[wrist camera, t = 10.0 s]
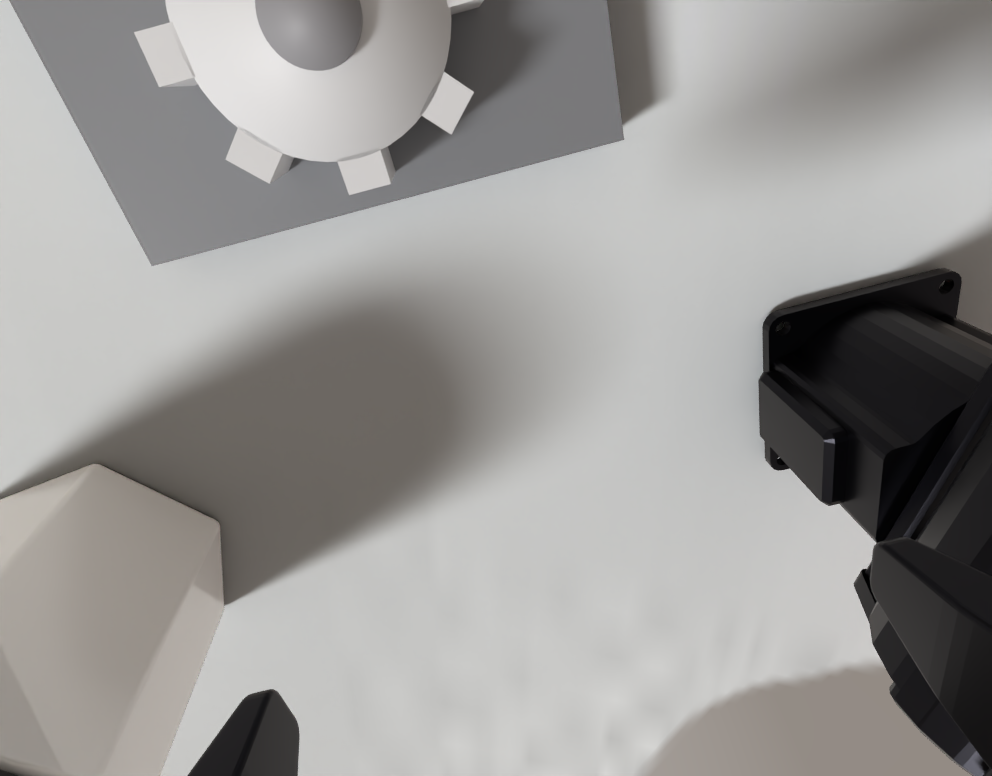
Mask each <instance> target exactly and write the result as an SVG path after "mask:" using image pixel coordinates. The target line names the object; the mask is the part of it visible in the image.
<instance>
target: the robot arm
mask: <svg viewBox="0 0 992 776" xmlns="http://www.w3.org/2000/svg"><path fill="white" fill-rule="evenodd" d="M943 281H945V282H944V284H943V286H942V287H941V288H939V287H940V284H941V283H942V282H943ZM960 289H961V277H960V275H959V274H958V273H956V272H953V271H950V270H948V269H945V268H943V269H936V270H932V271H929V272H925V273H921V274H917V275H913V276H909V277H905V278H902V279H898V280H894V281H890V282H886V283H882V284H878V285H874V286H871V287H867V288H863V289H859V290H855V291H851V292H847V293H844V294H840V295H836V296H832V297H828V298H824V299H820V300H817V301H813V302H809V303H805V304H801V305H797V306H793V307H789V308H786V309H782V310H778V311H775V312H773V313H771V314H770V315H769V316H768V317H767V318H766V319H765V321H764V323H763V373H762V375H761V377H760V379H759V419H760V436H761V437H762V438H763V439H764V441H765V459H766V461H767V462H768V463H769V464H770V466H771V467H772V468H773V469H775V470H785V469H789V468H790V469H791V470H792V471H793V472H794V473H795V474H796V475H797V476H798V478H799V479H800V480H801V481H802V482H803V483H804V484H805V485H806V486H807V487H808V488H809V490H810V491H811V492H812V493H813V494H814V495H815V496H816V497H817V498H818V499H819V500H820V501H821V502H823V503H825V504H826V505H828V506H831V505H835V504H840V505H841V506H842V507H843V508H844V509H845V510H846V511H847V512H848V513H849V514H850V515H851V516H852V517H853V519H854V520H855V521H856V522H857V523H858V524H859V525H860V526H861V527H862V528H863V529H864V530H865V531H866V532H867V533H868V534H869V535H870V536H871V537H872V538H873V539H874V540H875V542H876V543H877V544H876V545H875V546H874V548H873V556H872V561H871V563H870V565H869V566H868V568H867V569H863V570H862V571H861V572H860V574H859V576H858V577H857V579H856V581H855V582H854V587H855V589H856V592H857V594H858V597H859V599H860V601H861V604H862V606H863V609H864V611H865V613H866V616H867V618H868V621H869V623H870V629H871V636H872V643H873V645H874V647H875V649H876V651H877V653H878V655H879V657H880V658H881V660H882V662H883V664H884V666H885V668H886V670H887V671H888V673H889V675H890V677H891V678H892V680H893V681H894V682H893V684H892V685H891V686H890V694H891V696H892V697H893V699H894V701H895V702H896V704H897V705H898V707H899V708H900V709H901V710H902V711H903V712H904V714H906V716H907V717H908V718H909V719H910V720H911V721H912V722H913V724H914V725H915V726H916V727H917V728H918V730H920V732H921V733H922V734H923V735H924V736H925V737H927V738H928V739H929V740H930V741H931V742H932V743H933V744H934V745H935V746H936V747H938V748H939V749H940V750H941V751H942V752H943V753H944V754H946V756H947V757H948V758H949V759H951V760H952V761H954V763H956V764H957V765H959V766H960V767H961V768H962V769H964V770H965V771H966V772H968V773H969V774H971V775H972V776H992V334H989V333H987V332H985V331H983V330H981V329H978V328H976V327H974V326H972V325H970V324H968V323H965V322H963V321H961V320H959V319H957V318H956V315H957V308H958V302H959V295H960ZM781 322H784V326H783V327H782V328H781V329H780V330H778V331H776V327H777V326H778V325H779V323H781ZM778 457H780V458H779V459H777V458H778ZM298 756H299V727H298V723H297V720H296V718H295V717H294V715H293V714H292V712H291V711H290V709H289V708H288V706H287V705H286V703H285V702H284V700H283V699H282V697H281V696H280V694H279V693H278V692H277V691H275V690H273V689H269V690H265V691H261V692H257V693H253V694H250V695H248V696H247V697H245V698H244V699H243V700H242V702H241V703H240V704H239V706H238V707H237V708H236V710H235V711H234V712H233V714H232V715H231V717H230V718H229V719H228V721H227V722H226V723H225V725H224V726H223V728H222V729H221V730H220V732H219V733H218V734H217V736H216V737H215V739H214V740H213V741H212V743H211V744H210V745H209V747H208V748H207V750H206V751H205V752H204V754H203V755H202V756H201V758H200V759H199V761H198V762H197V763H196V765H195V766H194V767H193V769H192V770H191V772H190V773H189V774H188V776H298Z"/></svg>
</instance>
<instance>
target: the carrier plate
mask: <svg viewBox="0 0 992 776" xmlns="http://www.w3.org/2000/svg"><path fill="white" fill-rule="evenodd" d="M9 1H10V3H11V4H12V6H13V8H14V10H15V12H16V14H17V16H18V17H19V19H20V21H21V23H22V25H23V27H24V29H25V30H26V32H27V34H28V36H29V38H30V40H31V42H32V43H33V45H34V47H35V49H36V51H37V53H38V55H39V57H40V58H41V60H42V62H43V64H44V66H45V68H46V70H47V71H48V73H49V75H50V77H51V79H52V81H53V83H54V84H55V86H56V88H57V90H58V92H59V94H60V96H61V97H62V99H63V101H64V103H65V105H66V107H67V109H68V111H69V112H70V114H71V116H72V118H73V120H74V122H75V124H76V125H77V127H78V129H79V131H80V133H81V135H82V137H83V138H84V140H85V142H86V144H87V146H88V148H89V150H90V151H91V153H92V155H93V157H94V159H95V161H96V163H97V165H98V166H99V168H100V170H101V172H102V174H103V176H104V178H105V179H106V181H107V183H108V185H109V187H110V189H111V191H112V192H113V194H114V196H115V198H116V200H117V202H118V204H119V205H120V207H121V209H122V211H123V213H124V215H125V217H126V219H127V220H128V222H129V224H130V226H131V228H132V230H133V232H134V233H135V235H136V237H137V239H138V241H139V243H140V245H141V246H142V248H143V250H144V252H145V254H146V256H147V258H148V259H149V261H150V263H151V265H152V266H154V265H158V264H162V263H165V262H169V261H173V260H177V259H180V258H184V257H188V256H192V255H195V254H199V253H203V252H206V251H210V250H214V249H218V248H221V247H225V246H229V245H233V244H236V243H240V242H244V241H248V240H251V239H255V238H259V237H262V236H266V235H270V234H274V233H277V232H281V231H285V230H289V229H292V228H296V227H300V226H304V225H307V224H311V223H315V222H318V221H322V220H326V219H330V218H333V217H337V216H341V215H345V214H348V213H352V212H356V211H360V210H363V209H367V208H371V207H374V206H378V205H382V204H386V203H389V202H393V201H397V200H401V199H404V198H408V197H412V196H416V195H419V194H423V193H427V192H430V191H434V190H438V189H442V188H445V187H449V186H453V185H457V184H460V183H464V182H468V181H472V180H475V179H479V178H483V177H486V176H490V175H494V174H498V173H501V172H505V171H509V170H513V169H516V168H520V167H524V166H528V165H531V164H535V163H539V162H542V161H546V160H550V159H554V158H557V157H561V156H565V155H569V154H572V153H576V152H580V151H584V150H587V149H591V148H595V147H598V146H602V145H606V144H610V143H613V142H617V141H621V140H624V135H623V127H622V119H621V111H620V103H619V94H618V86H617V78H616V70H615V62H614V54H613V46H612V37H611V29H610V21H609V13H608V5H607V0H9Z"/></svg>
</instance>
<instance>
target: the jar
mask: <svg viewBox="0 0 992 776" xmlns="http://www.w3.org/2000/svg"><path fill="white" fill-rule="evenodd" d="M223 612H224V592H223V573H222V553H221V534H220V524H219V522H218V521H217V520H215V519H213V518H211V517H209V516H207V515H205V514H202V513H200V512H198V511H196V510H194V509H192V508H190V507H188V506H186V505H184V504H182V503H179V502H177V501H175V500H173V499H171V498H169V497H167V496H165V495H163V494H161V493H159V492H156V491H154V490H152V489H150V488H148V487H146V486H144V485H142V484H140V483H138V482H136V481H133V480H131V479H129V478H127V477H125V476H123V475H121V474H119V473H117V472H115V471H113V470H110V469H108V468H106V467H104V466H102V465H100V464H91V465H88V466H86V467H83V468H80V469H78V470H75V471H73V472H70V473H67V474H65V475H62V476H60V477H57V478H54V479H52V480H49V481H47V482H44V483H41V484H39V485H36V486H34V487H31V488H28V489H26V490H23V491H21V492H18V493H15V494H13V495H10V496H8V497H5V498H2V499H0V776H160V774H161V772H162V769H163V766H164V764H165V761H166V759H167V756H168V753H169V751H170V748H171V746H172V743H173V741H174V738H175V735H176V733H177V730H178V728H179V725H180V723H181V720H182V717H183V715H184V712H185V710H186V707H187V704H188V702H189V699H190V697H191V694H192V692H193V689H194V686H195V684H196V681H197V679H198V676H199V673H200V671H201V668H202V666H203V663H204V661H205V658H206V655H207V653H208V650H209V648H210V645H211V643H212V640H213V637H214V635H215V632H216V630H217V627H218V624H219V622H220V619H221V617H222V614H223Z"/></svg>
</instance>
